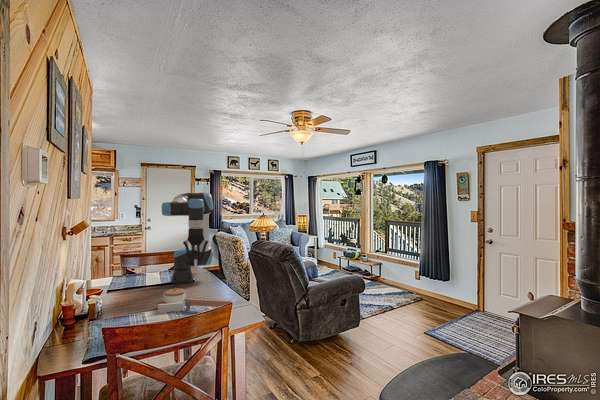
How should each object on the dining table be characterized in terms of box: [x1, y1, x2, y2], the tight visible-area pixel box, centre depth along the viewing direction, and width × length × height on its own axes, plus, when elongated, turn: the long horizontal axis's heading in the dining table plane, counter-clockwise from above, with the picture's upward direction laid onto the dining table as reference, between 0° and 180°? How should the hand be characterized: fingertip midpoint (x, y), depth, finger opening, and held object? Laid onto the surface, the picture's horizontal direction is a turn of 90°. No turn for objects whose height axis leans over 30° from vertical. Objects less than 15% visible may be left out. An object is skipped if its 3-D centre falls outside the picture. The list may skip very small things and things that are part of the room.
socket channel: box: [157, 291, 191, 314], centre depth 166 cm, size 20×16×4 cm
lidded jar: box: [163, 287, 186, 304], centre depth 166 cm, size 11×11×9 cm
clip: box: [184, 297, 233, 308], centre depth 158 cm, size 25×3×3 cm, turn 83°
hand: (195, 272), depth 161 cm, fingers closed
